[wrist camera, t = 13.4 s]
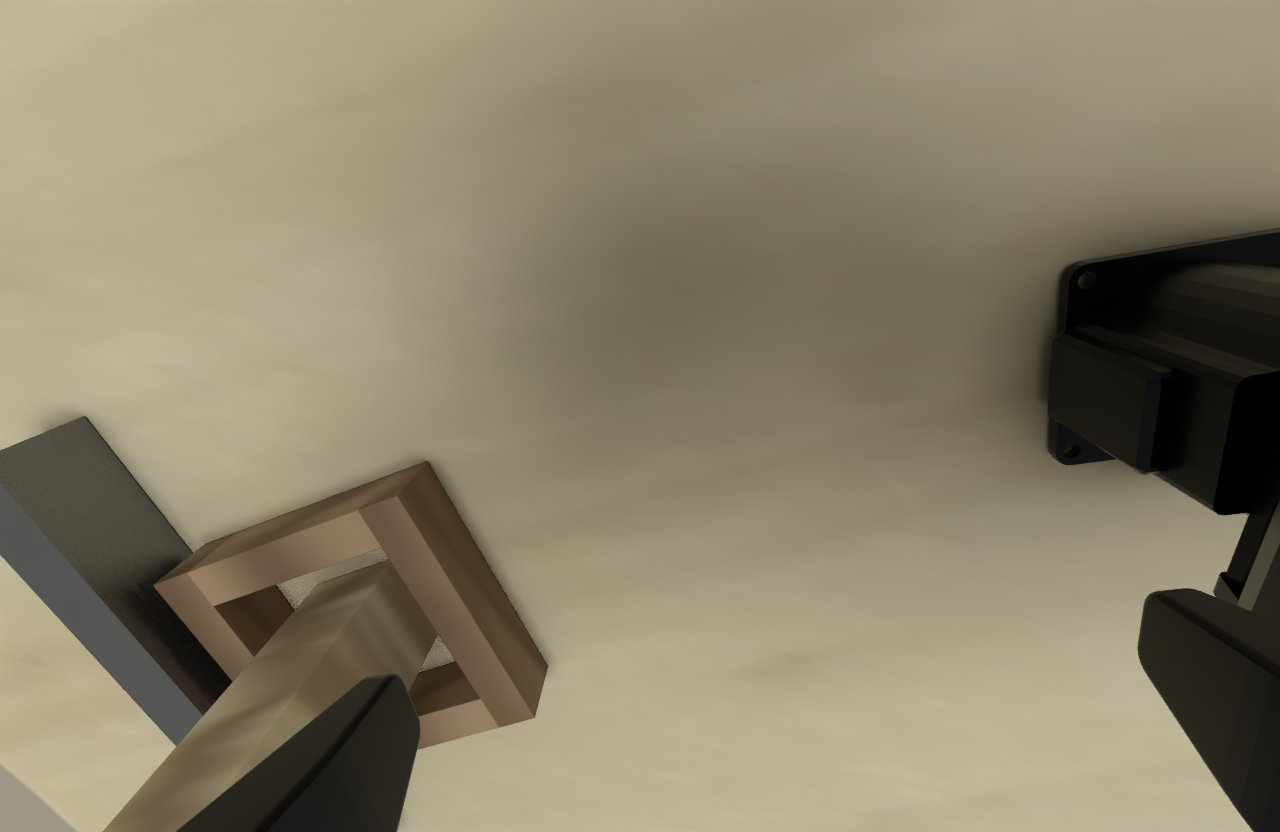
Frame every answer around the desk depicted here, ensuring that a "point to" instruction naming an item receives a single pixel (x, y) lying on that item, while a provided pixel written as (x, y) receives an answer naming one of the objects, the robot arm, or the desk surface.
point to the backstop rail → (105, 569)
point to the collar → (426, 561)
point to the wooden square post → (287, 690)
